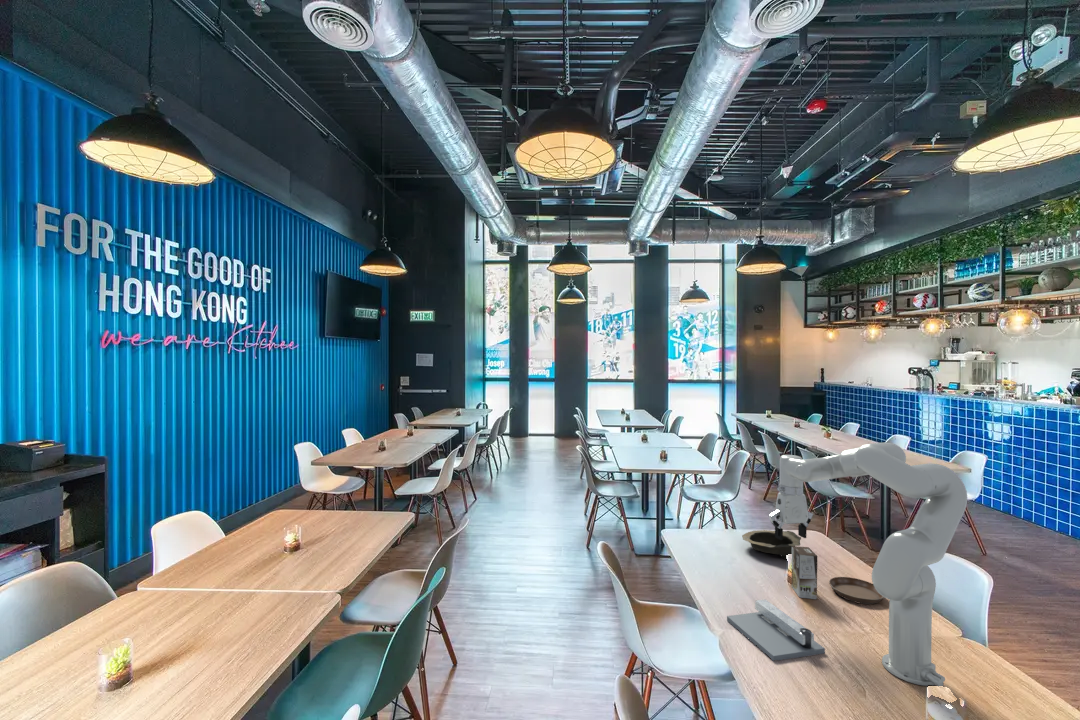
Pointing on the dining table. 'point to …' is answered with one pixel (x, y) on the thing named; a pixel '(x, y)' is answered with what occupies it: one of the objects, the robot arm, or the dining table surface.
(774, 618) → the swing bar
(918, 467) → the robot arm
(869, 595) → the plant saucer
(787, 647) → the label board
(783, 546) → the stone bowl
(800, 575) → the coffee box
